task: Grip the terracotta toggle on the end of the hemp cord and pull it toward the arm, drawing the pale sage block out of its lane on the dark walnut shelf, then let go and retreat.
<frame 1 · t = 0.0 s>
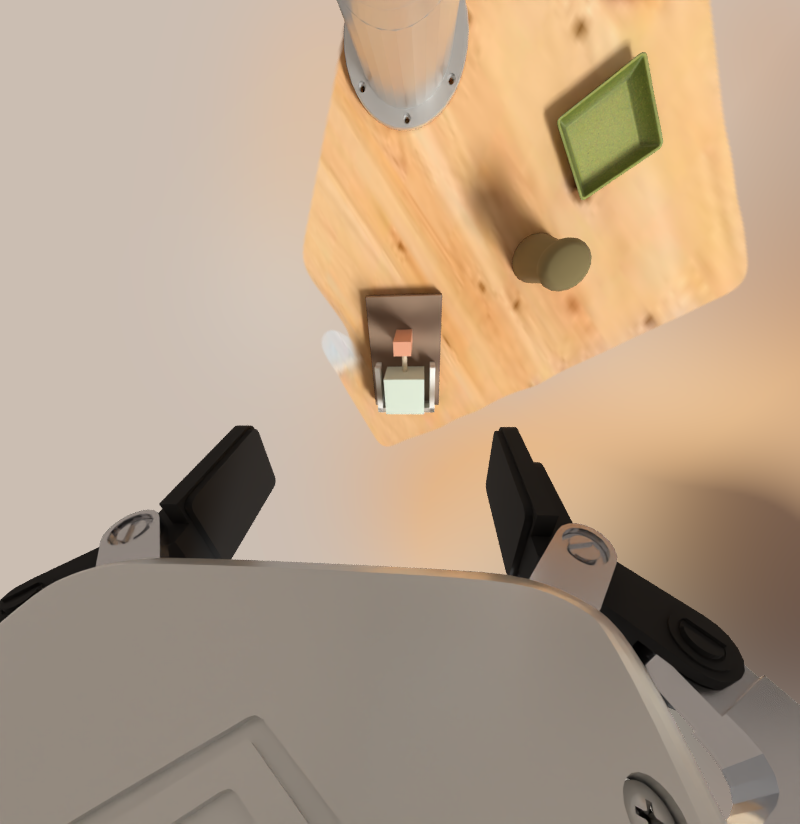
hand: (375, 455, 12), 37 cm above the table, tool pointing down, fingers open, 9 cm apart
sage block: (404, 374, 44), point 5 cm above the table, slide at 0.0 cm
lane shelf: (405, 352, 48), on the table
green tray: (599, 138, 33), on the table
cork: (534, 258, 40), on the table
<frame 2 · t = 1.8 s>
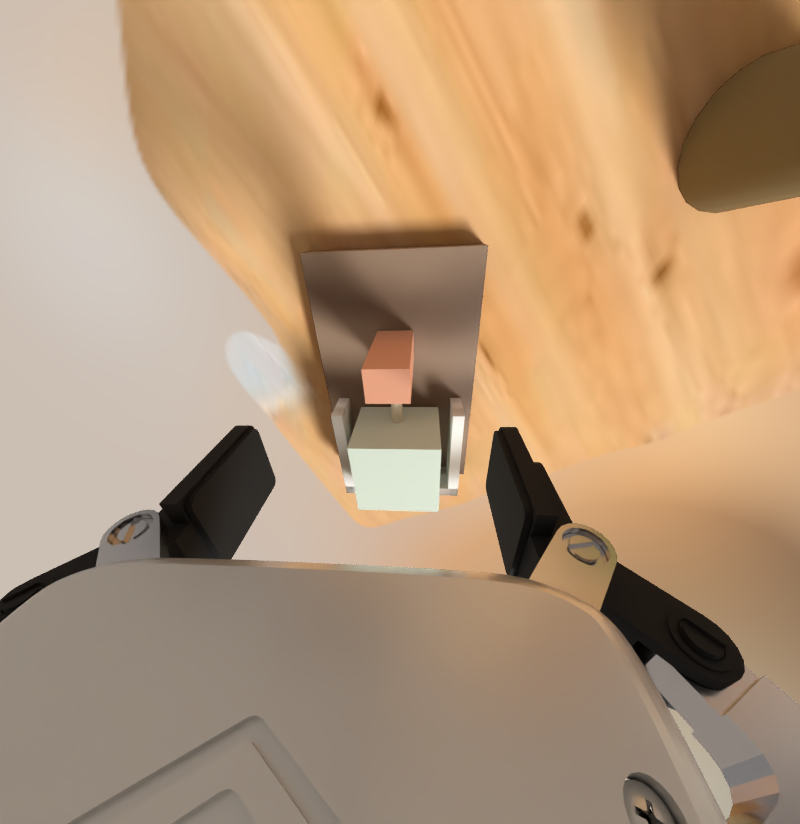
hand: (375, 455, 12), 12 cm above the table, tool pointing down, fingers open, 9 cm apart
sage block: (396, 430, 20), point 5 cm above the table, slide at 0.0 cm
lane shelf: (399, 377, 23), on the table
cork: (745, 140, 15), on the table
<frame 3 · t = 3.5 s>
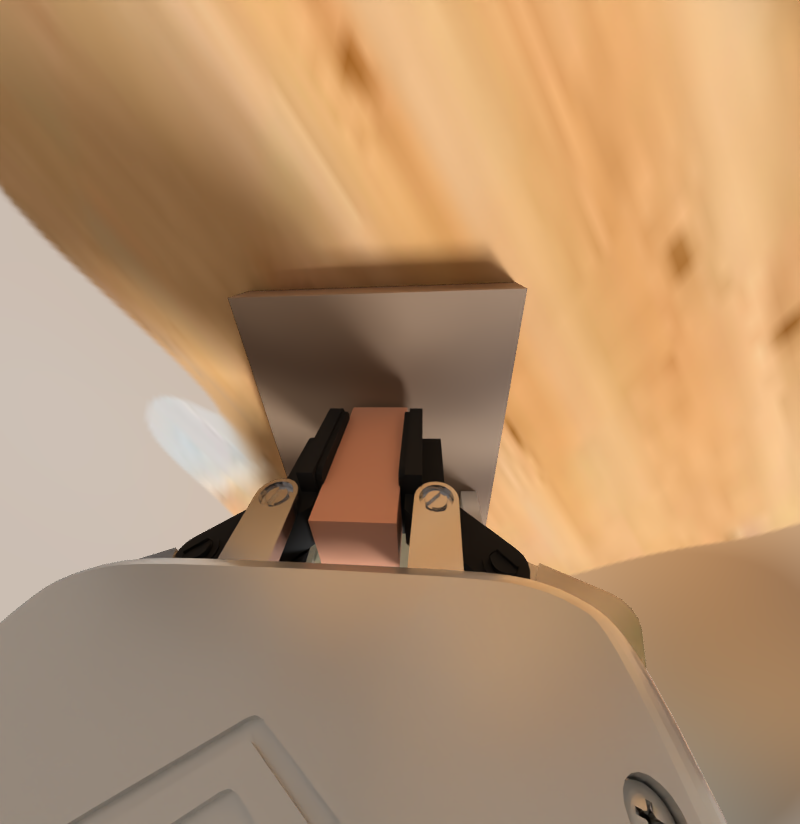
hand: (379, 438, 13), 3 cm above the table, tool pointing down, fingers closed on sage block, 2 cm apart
sage block: (381, 551, 13), point 5 cm above the table, slide at 0.0 cm, touching gripper
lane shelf: (389, 457, 17), on the table
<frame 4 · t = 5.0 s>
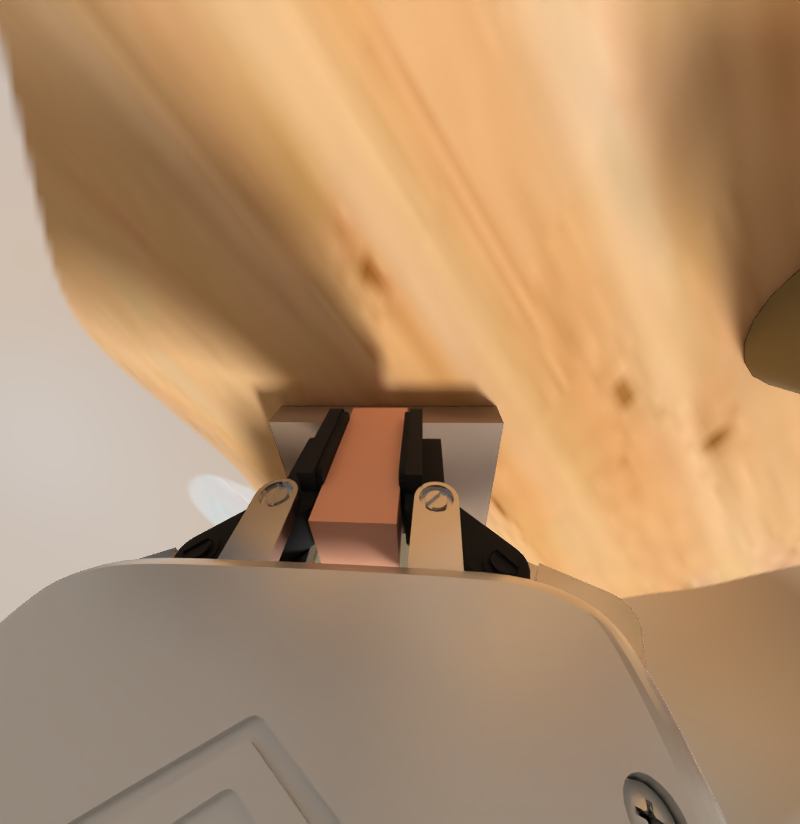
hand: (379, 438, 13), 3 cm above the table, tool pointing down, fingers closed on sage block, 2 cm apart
sage block: (381, 552, 13), point 5 cm above the table, slide at 5.6 cm, touching gripper
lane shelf: (394, 522, 19), on the table
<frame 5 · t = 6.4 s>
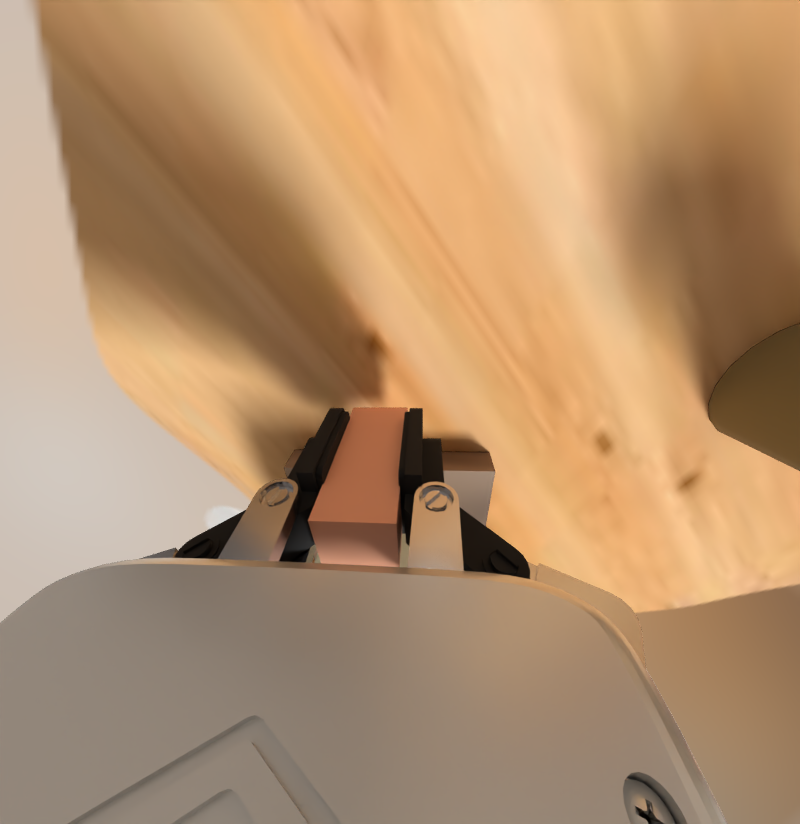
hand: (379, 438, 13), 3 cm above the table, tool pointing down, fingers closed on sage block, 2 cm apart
sage block: (381, 552, 13), point 5 cm above the table, slide at 8.5 cm, touching gripper
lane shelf: (396, 548, 21), on the table
cork: (785, 382, 13), on the table
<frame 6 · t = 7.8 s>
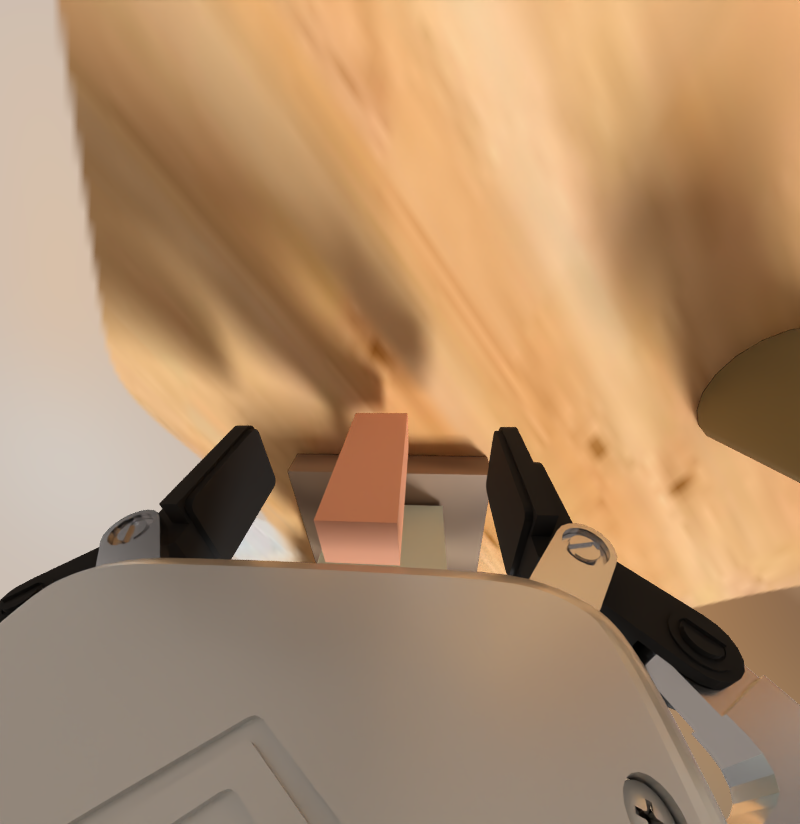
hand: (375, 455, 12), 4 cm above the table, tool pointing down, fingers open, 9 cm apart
sage block: (382, 553, 14), point 5 cm above the table, slide at 8.5 cm
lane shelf: (396, 551, 21), on the table
cork: (769, 389, 13), on the table
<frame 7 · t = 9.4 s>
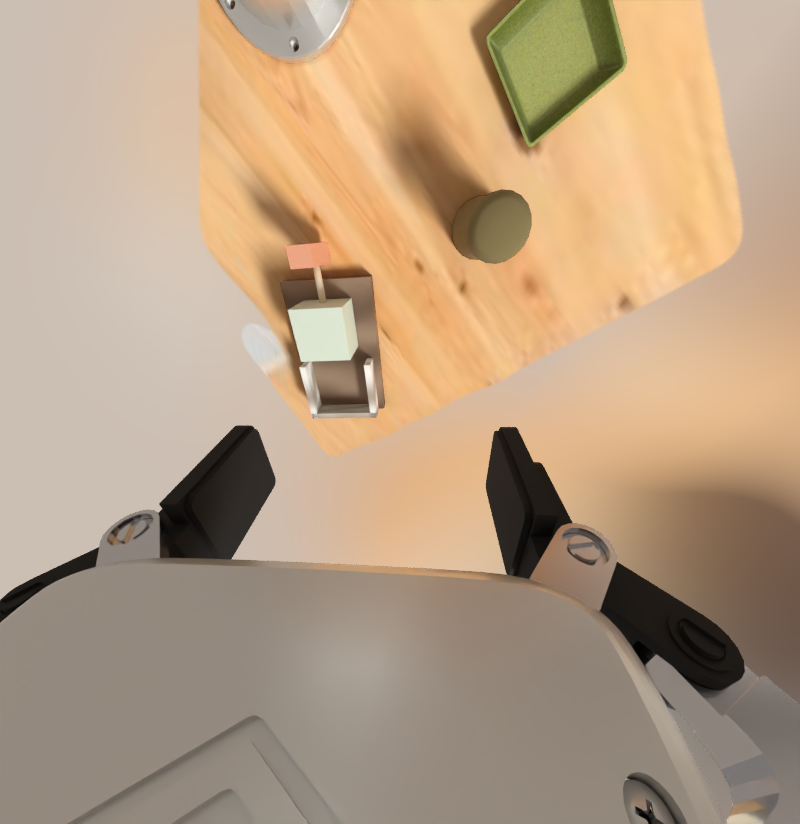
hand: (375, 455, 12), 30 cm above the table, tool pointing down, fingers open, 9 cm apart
sage block: (320, 304, 33), point 5 cm above the table, slide at 8.5 cm
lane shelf: (340, 348, 40), on the table
green tray: (547, 65, 26), on the table
cork: (479, 229, 32), on the table
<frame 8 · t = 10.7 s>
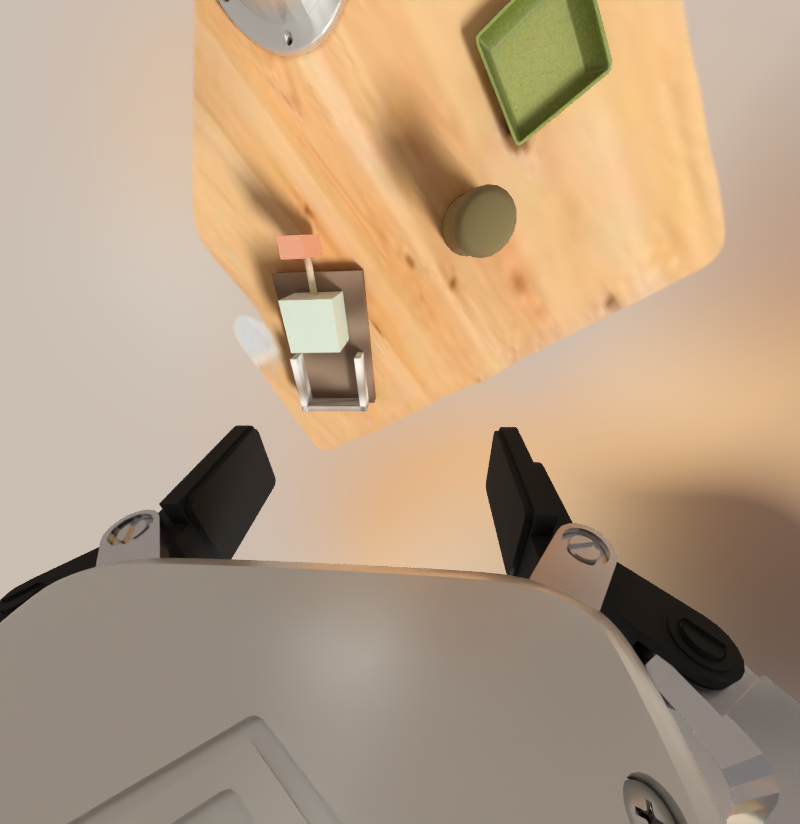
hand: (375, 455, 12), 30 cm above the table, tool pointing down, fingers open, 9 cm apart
sage block: (310, 296, 33), point 5 cm above the table, slide at 8.5 cm
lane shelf: (331, 341, 41), on the table
green tray: (535, 66, 26), on the table
cork: (469, 225, 33), on the table
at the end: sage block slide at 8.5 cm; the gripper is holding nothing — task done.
